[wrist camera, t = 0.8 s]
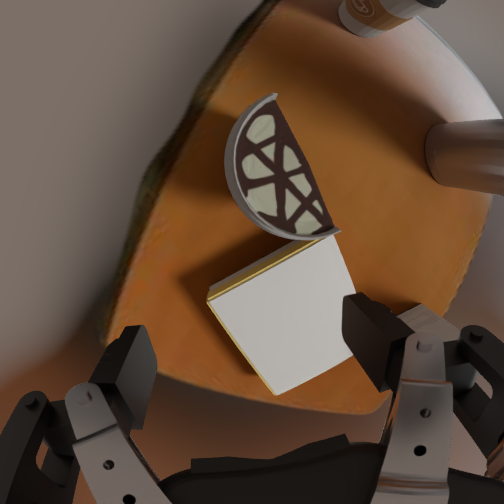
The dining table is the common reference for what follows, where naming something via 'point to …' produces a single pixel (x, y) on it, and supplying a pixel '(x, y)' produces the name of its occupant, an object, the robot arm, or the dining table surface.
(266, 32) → the dining table surface
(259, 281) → the white flat block
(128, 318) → the dining table surface
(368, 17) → the coffee cup
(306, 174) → the food container
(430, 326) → the supplement box
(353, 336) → the robot arm
